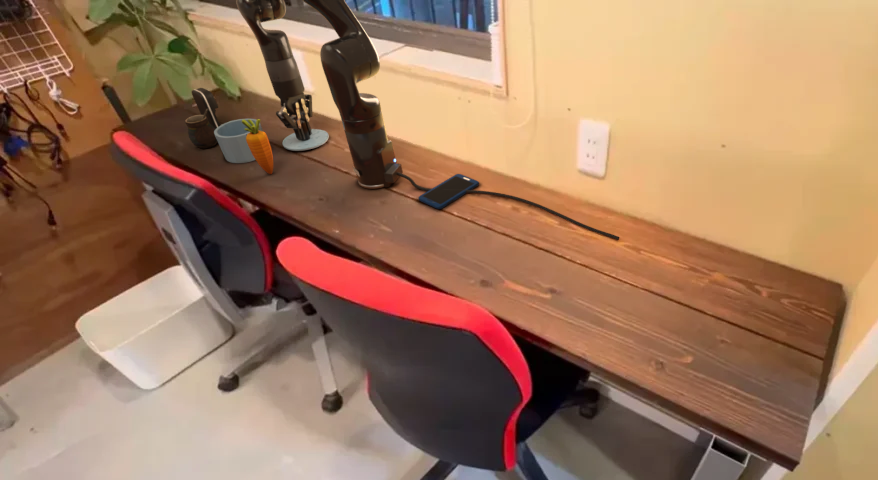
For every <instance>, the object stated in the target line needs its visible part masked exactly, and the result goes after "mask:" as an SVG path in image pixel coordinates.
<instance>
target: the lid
mask: <svg viewBox="0 0 878 480" xmlns="http://www.w3.org/2000/svg"><path fill="white" fill-rule="evenodd" d="M294 123H296V121H294ZM300 123H301V127H302V129H303V132H304V135H305V138H306V139H305V140H304V141H302V140H298V139H297V138H296V135H295V132H293V133H290V134H289V135H288V136H286V137H284V139H283V140H282V143H281V144H282V146H283V148H284V149H286V150H288V151H293V152H302V151H309V150H311V149H316V148H318V147H321V146H322V145H324V144H326V142H328V140H329V138H330V136H329V133H328V131H326V130H324V129H320V128H311V132H312V134H311V135H309V132H308V129H307V126H306V123H305V121H304V120H300Z"/></svg>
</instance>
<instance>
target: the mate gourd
mask: <svg viewBox="0 0 878 480" xmlns="http://www.w3.org/2000/svg"><path fill="white" fill-rule="evenodd" d="M207 111H208V108H207V109H206V111H205V114H204V115H201V114H195V115H191V116H189V117H187V118H186V119H185V120H184V123H185V125H186V126H187V130H188V131H187V133H188V134H187V135H188V138H189V140H190V142H191V143H192V144H193V145H194V146H195V147H196V148H198V149H203V150H204V149H209V148H213V147H215V146H216V145H217V143H218V141H217V139H216V137H215V134H214V131H215V128H214V127H213V126H212V125H211V124H210V123H209V122H208V119H207V117H206V113H207Z"/></svg>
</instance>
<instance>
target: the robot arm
mask: <svg viewBox="0 0 878 480" xmlns="http://www.w3.org/2000/svg"><path fill="white" fill-rule="evenodd" d="M301 1H302V2H304V3H305V4H307V6H309V7H311V8H312V9H313V10H315V11H316V12H317V13H319V14H320V15H321V16H322V17H323V18H324V19H325V20H326V21H327V22H328V24H329V25H330V26H331V27H332V29H333V30H334V31H335V33H336V34H337V36H338V38H335V39H332V40H330V41H327V42H325V43H323V44H322V46H321V47H320V52H319V53H320V55H319V56H320V57H319V58H320V63H321V68H322V70H323V74H324V77H325V79H326V82H327V85H328V89H329V91H330V94H331V98H332V100H333V102H334V104H335V106H336V108H337V110H338V113H339V116H340V120H341V123H342V127H343V130H344V133H345V139H346V141H347V145H348V149H349V152H350V156H351V160H352V164H353V166H352V170H353V172H354V173H355V174H356V179H357V183H358V185H359V186H360V187H361V188H363V189H368V190H377V189H381V188H390V187H391V186H392V185H393V184H394V183H395V182H397V180H398V179H399V178H400V177H401V178H404V179H405V180H406V181H409V182H410V183H411V185H412V186H413V187H414V188H416V189H418V190H420V191H423V192H427V191H429V190H431V189H432V188H430V187H429V188H427V187H423V186H421V185H418V184H417V183H416V182H415V181H414V180H413V179H412V178H411V177H410V176H408V175H406V174H404V173H403V167H402V164H401V163H397V158H396V154H395V149H394V143H393V141H392V140H391V139H389V138H388V133H387V129H386V125H385V119H384V115H383V111H382V105H381V102H380V99H379V98H378V96H376V95H375V94H371V93H367V92H366V93H365V92H360V91H359V89H358V85H357V84H359V83H361V82H364V81H366V80H369V79H371V78H373V77H375V76H376V75H377V74H379V72H380V69H381V61H380V57H379V54H378V52H377V49H376V47H375V45H374V43H373V41H372V40H371V38H370V36H369V35H368V33H367V32H366V31H365V29H364V27H363V26H362V24H361V23H360V21H359V20H358V18H357V17H356V16H355V14H354V12H353V11H352V9H351V7H349V5H348V3H347V2H346V0H301ZM235 3H236V7H237V9H238V12H239V13H240V15H241V16H242V18H243V19H244V21H245V22H246V23H247V25H248V27H249V28H250V30H251V32H252V33H253V35H254V37H255V39H256V42H257V43H258V46H259V48H260V50H261V54H262V58H263V60H264V63H265V64H264V65H265V69H266V71H267V74H268V75H267V76H268V77H269V80H270V83H271V86H272V88H273V91H274V94H275V96H277V97H278V99H279V101H280V107H281V108H280V110H279V111H277V110H276V112H275V116H276V117H277V118H278V119H279V120H280V122H281V123H282V124H283V125H284V126H285V127H286V128H287V129H291V130H293V133H295V135H296V138H297V139H298V140H302V141H304V140H305V139H306V138H305V135H304V132H303V129H302V127H301V123H300V120H304V121H305V123H306V126H307V129H308V132H309V135H311V134H312V132H311V129H312V128H311V124H310V118H313V96H312V94H308V93H304V92H305V85H304V82H303V79H302V75H301V72H300V69H299V66H298V62H297V61H296V59H295V57H294V53H293V51H292V48H291V43H290V40H289V37H288V35H287V33H286V32H285V31H283V30H281V29H268V28H264V27H263V26H262V23H267V22H271V21H277V20H281V19H282V18H284V17H285V15H286V12H287V6H286V5H287V4H286V2H285V0H235ZM295 122H296V123H295ZM446 190H449V189H446ZM466 194H477V195H478V194H480V195H489V196H494V197H495V196H497V197H501V198H506V199H511V200H514V201H518V202H521V203H524V204H526V205H530V206H533V207H535V208H538V209H541V210H543V211H545V212H547V213H549V214H551V215H554V216H556V217H558V218H561V219H562V220H565V221H567V222H569V223H571V224H573V225H576V226H578V227H581V228H582V229H585V230H588V231H590V232H593V233H596V234H598V235H602V236H604V237H608V238H610V239H614V240H617V241H619V240H620V238H621V237H620V236H618V235H615V234H613V233H610V232H607V231H603V230H601V229H597V228H594V227H592V226H590V225H587V224H585V223H582V222H580V221H577V220H575V219H573V218H571V217H568V216H567V215H564V214H562V213H560V212H558V211H555V210H553V209H551V208H549V207H547V206H544V205H541V204H539V203H536V202H534V201H531V200H527V199H525V198H522V197H518V196H514V195H510V194H506V193H501V192H495V191H487V190H479V189H478V190H476V189H472V190H466Z"/></svg>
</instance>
